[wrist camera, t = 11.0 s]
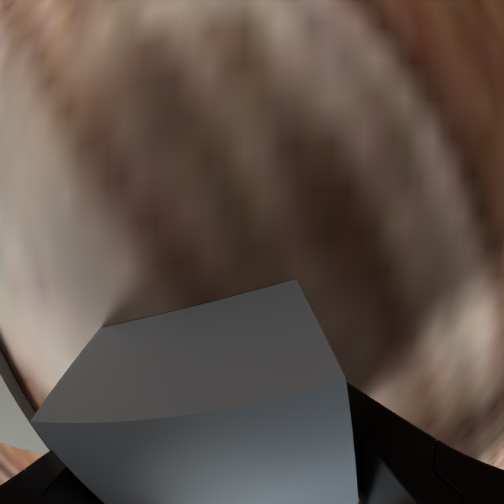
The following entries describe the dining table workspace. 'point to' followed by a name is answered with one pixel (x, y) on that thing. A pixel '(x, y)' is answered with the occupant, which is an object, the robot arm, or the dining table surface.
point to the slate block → (208, 407)
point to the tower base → (17, 415)
